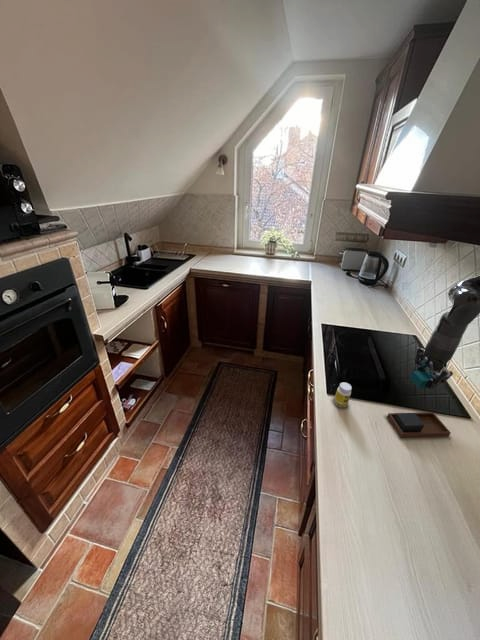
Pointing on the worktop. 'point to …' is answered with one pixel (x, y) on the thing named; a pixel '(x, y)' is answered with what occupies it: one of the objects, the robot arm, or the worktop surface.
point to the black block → (409, 422)
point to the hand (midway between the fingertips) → (423, 381)
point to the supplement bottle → (343, 394)
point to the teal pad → (421, 378)
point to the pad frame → (430, 429)
